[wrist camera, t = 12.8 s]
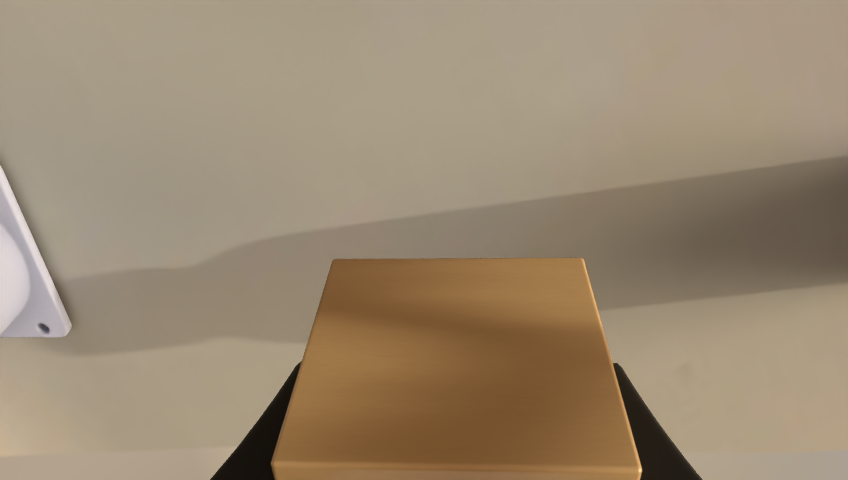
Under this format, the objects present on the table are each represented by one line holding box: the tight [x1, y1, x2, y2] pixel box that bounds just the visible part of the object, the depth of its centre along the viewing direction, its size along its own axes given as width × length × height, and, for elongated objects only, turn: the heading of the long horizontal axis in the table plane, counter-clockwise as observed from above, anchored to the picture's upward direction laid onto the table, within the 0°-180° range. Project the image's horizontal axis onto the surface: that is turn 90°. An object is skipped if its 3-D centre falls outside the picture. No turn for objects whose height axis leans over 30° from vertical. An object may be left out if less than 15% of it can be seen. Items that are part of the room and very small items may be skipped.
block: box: [271, 258, 642, 480], centre depth 12 cm, size 5×5×5 cm
